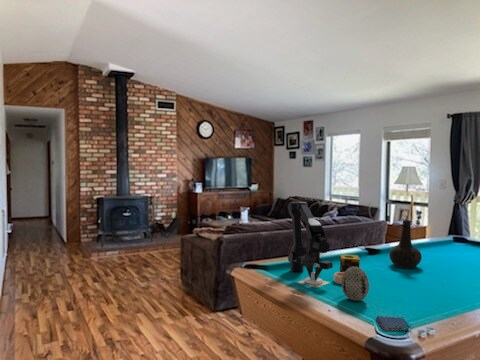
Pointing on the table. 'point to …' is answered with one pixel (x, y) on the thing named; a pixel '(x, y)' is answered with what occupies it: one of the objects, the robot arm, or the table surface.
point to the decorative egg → (355, 283)
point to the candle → (348, 262)
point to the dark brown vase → (405, 249)
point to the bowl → (338, 277)
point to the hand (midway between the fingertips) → (313, 279)
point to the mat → (313, 284)
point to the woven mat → (392, 323)
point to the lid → (313, 279)
